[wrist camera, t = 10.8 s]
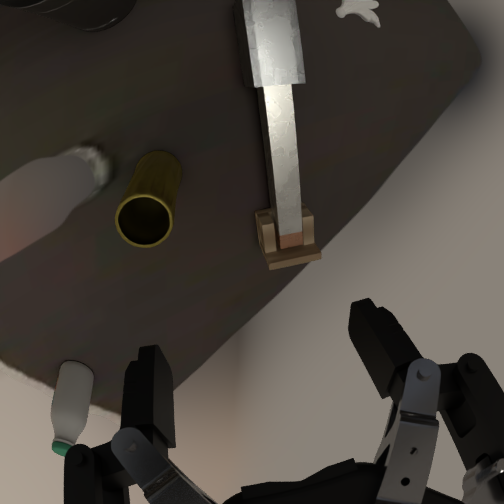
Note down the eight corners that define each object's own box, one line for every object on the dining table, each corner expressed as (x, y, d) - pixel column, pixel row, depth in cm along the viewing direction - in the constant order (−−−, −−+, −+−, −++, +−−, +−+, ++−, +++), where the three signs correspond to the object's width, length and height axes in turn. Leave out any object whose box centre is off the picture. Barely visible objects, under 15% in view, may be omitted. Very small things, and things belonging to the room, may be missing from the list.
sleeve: (232, 6, 27) (240, -8, 22) (276, 4, 28) (293, -10, 22) (244, 86, 33) (254, 87, 28) (286, 81, 34) (305, 82, 28)
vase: (191, 165, 37) (191, 210, 26) (166, 203, 40) (157, 263, 28) (150, 141, 35) (128, 176, 23) (127, 182, 37) (99, 234, 25)
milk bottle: (64, 354, 51) (45, 440, 34) (98, 368, 54) (86, 455, 37) (58, 372, 53) (42, 451, 37) (89, 385, 57) (79, 464, 40)
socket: (254, 210, 42) (265, 235, 37) (302, 202, 43) (321, 224, 37) (258, 242, 45) (269, 270, 39) (304, 233, 46) (321, 259, 40)
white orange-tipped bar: (254, 72, 31) (261, 71, 28) (279, 70, 31) (289, 69, 28) (273, 234, 43) (280, 249, 40) (294, 230, 43) (303, 244, 40)
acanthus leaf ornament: (329, -25, 26) (335, -29, 25) (373, -16, 27) (380, -19, 26) (334, 21, 30) (340, 19, 29) (377, 28, 31) (385, 27, 29)
